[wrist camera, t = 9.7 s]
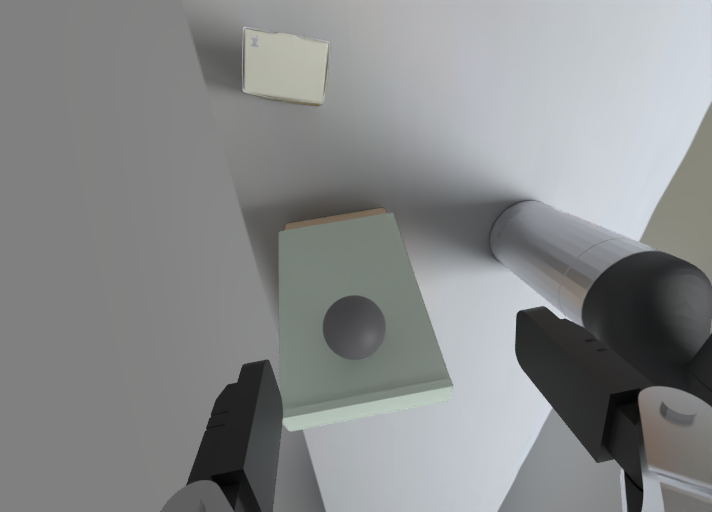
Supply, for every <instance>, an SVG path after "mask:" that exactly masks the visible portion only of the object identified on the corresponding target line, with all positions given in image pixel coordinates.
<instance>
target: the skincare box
mask: <svg viewBox="0 0 712 512" xmlns="http://www.w3.org/2000/svg"><path fill="white" fill-rule="evenodd" d="M330 46H331V45H330V43H329V42H328V41H325V40H320V39H315V38H309V37H304V36H298V35H293V34H287V33H281V32H275V31H269V30H263V29H258V28H251V27H243V40H242V89H243V92H245V93H248V94H252V95H255V96H258V97H261V98H265V99H270V100H275V101H281V102H287V103H293V104H302V105H311V106H320V105H321V104H323V103H324V98H325V91H326V83H327V75H328V67H329V56H330Z"/></svg>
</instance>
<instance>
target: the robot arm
mask: <svg viewBox="0 0 712 512" xmlns="http://www.w3.org/2000/svg"><path fill="white" fill-rule="evenodd" d="M490 246H491V250H492V253H493V254H494V256H495V257H496V258H497V259H498V260H499V261H500V262H501V263H502V264H503V265H505V266H506V267H507V268H508V269H509V270H511V271H512V272H513V273H514V274H515V275H516V276H518V277H519V278H520V279H521V280H523V281H524V282H525V283H526V284H527V285H529V286H530V287H531V288H532V289H534V290H535V291H536V292H537V293H538V294H540V295H541V296H542V297H543V298H545V299H546V300H547V301H548V302H549V303H551V304H552V305H553V306H554V307H556V308H557V309H558V310H559V311H560V312H562V313H563V314H564V315H565V316H567V317H568V318H569V319H570V320H572V321H573V322H571V321H569V320H567V319H559V318H558V317H557V316H556V315H555V314H553V313H552V312H551V311H550V310H549V309H548V308H546V307H544V306H541V307H536V308H531V309H526V310H521V311H519V312H518V313H517V317H516V342H515V352H516V357H517V360H518V362H519V364H520V366H521V368H522V369H523V371H524V372H525V373H526V374H527V376H528V377H529V378H530V379H531V381H532V382H533V383H534V384H535V386H536V387H537V388H538V389H539V391H540V392H541V393H542V394H543V396H544V397H545V398H546V400H547V401H548V402H549V403H550V405H551V406H552V407H553V408H554V410H555V411H556V412H557V413H558V414H559V416H560V417H561V418H562V420H563V421H564V422H565V423H566V425H567V426H568V427H569V428H570V429H571V431H572V432H573V433H574V434H575V436H576V437H577V438H578V440H579V441H580V442H581V443H582V445H583V446H584V447H585V448H586V449H587V451H588V452H589V453H590V455H591V456H592V457H593V458H594V460H595V461H596V462H597V463H599V462H604V461H608V460H613V459H615V460H616V461H617V463H618V464H619V465H620V466H621V467H622V468H621V472H620V481H621V495H622V508H623V512H712V334H711V335H710V327H711V319H712V286H711V283H710V281H709V279H708V278H707V276H706V275H705V274H704V273H703V272H702V271H701V270H700V269H699V268H697V267H696V266H694V265H693V264H691V263H689V262H687V261H685V260H682V259H680V258H677V257H675V256H672V255H670V254H667V253H665V252H662V251H660V250H657V249H655V248H653V247H650V246H648V245H645V244H642V243H640V242H638V241H635V240H632V239H630V238H628V237H625V236H623V235H620V234H618V233H615V232H613V231H610V230H608V229H605V228H603V227H601V226H598V225H596V224H593V223H591V222H588V221H586V220H583V219H581V218H578V217H576V216H573V215H571V214H569V213H566V212H564V211H562V210H559V209H556V208H554V207H551V206H549V205H546V204H544V203H541V202H539V201H524V202H520V203H517V204H515V205H513V206H511V207H510V208H508V209H507V210H506V211H504V212H503V213H502V215H501V216H500V217H499V218H498V219H497V221H496V222H495V224H494V226H493V229H492V231H491V236H490ZM282 421H283V404H282V398H281V394H280V391H279V388H278V385H277V382H276V379H275V376H274V373H273V370H272V367H271V365H270V362H269V360H263V361H257V362H252V363H247V364H244V365H243V366H242V368H241V372H240V375H239V378H238V382H237V383H233V384H228V385H227V386H226V387H225V389H224V390H223V391H222V393H221V394H220V395H219V396H218V398H217V399H216V401H215V404H214V407H213V410H212V413H211V418H209V421H208V425H207V427H206V429H207V431H205V433H204V436H203V439H202V442H201V445H200V447H199V450H198V453H197V456H196V459H195V462H194V465H193V467H192V470H191V473H190V476H189V479H188V482H187V484H186V486H185V487H184V488H182V489H181V490H179V491H178V492H177V493H175V494H174V495H173V496H172V497H171V498H170V499H169V500H168V501H167V503H166V504H165V505H164V507H163V508H162V510H161V511H160V512H273V504H274V494H275V485H276V476H277V467H278V458H279V447H280V439H281V430H282Z"/></svg>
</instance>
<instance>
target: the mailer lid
mask: <svg viewBox="0 0 712 512" xmlns="http://www.w3.org/2000/svg"><path fill="white" fill-rule="evenodd" d="M278 246H279V374H280V375H279V377H280V379H279V382H280V383H279V385H280V394H281V398H282V404H283V421H282V423H283V424H284V425H285V427H286V428H287V429H288V430H289V431H295V430H301V429H306V428H311V427H316V426H322V425H327V424H332V423H337V422H343V421H348V420H353V419H358V418H363V417H369V416H374V415H379V414H384V413H390V412H395V411H400V410H405V409H411V408H416V407H421V406H426V405H431V404H437V403H442V402H447V401H448V400H449V397H450V394H451V391H452V389H453V384H452V381H451V378H450V377H449V374H448V371H447V368H446V365H445V362H444V359H443V356H442V353H441V350H440V347H439V345H438V342H437V339H436V336H435V333H434V330H433V327H432V324H431V321H430V318H429V316H428V313H427V310H426V307H425V304H424V301H423V298H422V295H421V292H420V289H419V286H418V284H417V281H416V278H415V275H414V272H413V269H412V266H411V263H410V260H409V257H408V254H407V252H406V249H405V246H404V243H403V240H402V237H401V234H400V231H399V228H398V225H397V223H396V220H395V217H394V214H393V212H392V213H386V214H380V215H374V216H368V217H362V218H356V219H350V220H344V221H338V222H332V223H326V224H320V225H314V226H308V227H302V228H296V229H290V230H284V231H278Z"/></svg>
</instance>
